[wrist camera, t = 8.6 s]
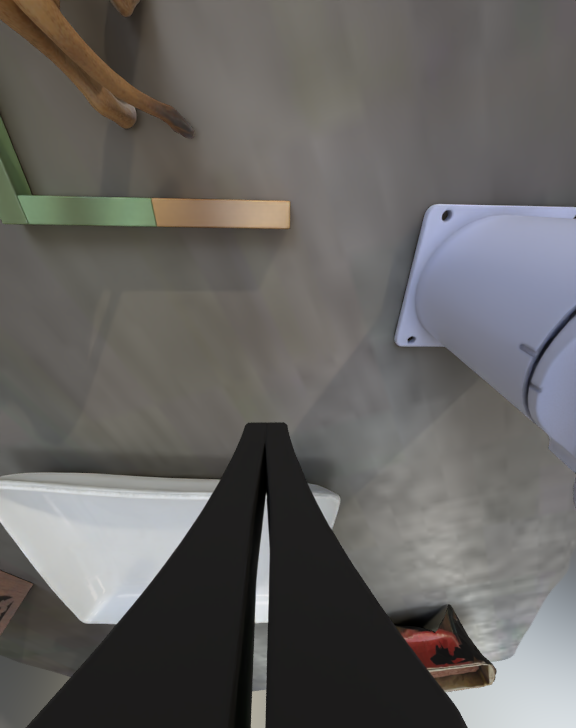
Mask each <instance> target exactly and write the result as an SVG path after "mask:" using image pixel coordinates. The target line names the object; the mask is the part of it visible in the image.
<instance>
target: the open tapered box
mask: <svg viewBox="0 0 576 728" xmlns="http://www.w3.org/2000/svg"><path fill="white" fill-rule="evenodd" d="M395 627H396V628H397V629H398V631H399V632H400V633H401V635H402V636H403V638H404V639H405V640H406V642H407V643H408V644H409V646H410V647H411V648H412V650H413V651H414V652H415V654H416V655H417V656H418V658H419V659H420V660H421V662H422V663H423V664H424V666H425V667H426V668H427V670H428V671H429V672H430V673H431V675H432V676H433V677H434V679H435V680H436V681H437V682H438V684H439V685H440V686H441V688H442V689H443V690H444V691H445V692H451V691H457V690H464V689H470V688H479V687H484V686H486V685H491V684H492V683H493V682H494V680H495V675H496V669H495V667H494V666H493V664H492V663H491V662H490V661H489V660H487V659H486V658H485V657H484V656H483V655H482V654H481V653H480V651H479V650H478V649H477V647H476V646H475V645H474V643H473V642H472V641H471V639H470V638H469V637H468V635H467V633H466V631H465V630H464V628H463V626H462V624H461V623H460V621H459V619H458V617H457V616H456V614H455V612H454V610H453V609H452V607H451V606H450V605H448V608H447V611H446V614H445V616H444V618H443V620H442V622H441V624H440V626H439V628H438V629H437V631H436V632H435V631H432V630H428V629H424V628H420V627H414V626H396V625H395Z"/></svg>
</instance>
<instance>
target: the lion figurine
mask: <svg viewBox="0 0 576 728" xmlns="http://www.w3.org/2000/svg"><path fill="white" fill-rule="evenodd" d="M110 2H111V3H112V4H113V6H114V7H115V8H116V9H117V10H118V11H119V13H120V14H121V15H122V16H124V17H128V16H131V14H132V13H133V10H134V8H135V7H136V5H137V4H138V3H139V2H140V0H110ZM0 19H1V20H2V21H3V22H4V23H6V24H7V25H8V26H9V27H11V28H12V29H13V30H15V31H16V32H17V33H18V34H20V35H21V36H22V37H24V38H25V39H26V40H27V41H29V42H30V43H31V44H32V45H33V46H35V47H36V48H37V49H38V50H39V51H41V52H42V53H43V54H44V55H45V56H47V57H48V58H49V59H50V60H51V61H52V62H53V63H54V64H55V65H57V66H58V67H59V68H60V69H61V70H62V71H63V72H64V73H65V74H66V75H67V76H68V78H69V79H70V80H71V81H72V82H73V83H74V84H75V85H76V86H77V88H78V89H79V90H80V91H81V92H82V93H83V94H84V96H85V97H86V98H87V100H88V101H89V103H90V104H91V106H92V107H93V108H94V109H95V110H96V111H98V112H99V113H100V114H102V115H103V116H105V117H107V118H109V119H111V120H112V121H114V122H115V123H117V124H118V125H119V126H121V127H122V128H126V129H128V128H130V127H132V126H133V125H134V123H135V122H136V118H137V114H136V110H135V107H136V108H138V109H140V110H142V111H144V112H146V113H148V114H150V115H153V116H155V117H158V118H160V119H161V120H163V121H164V122H166V123H167V124H168V125H169V126H170V127H171V128H172V129H173V130H174V131H175V132H177V133H180V134H181V135H183V136H184V137H186V138H193V136H194V135H195V130H194V129H193V127H192V126H191V125H190V124H189V123H188V122H187V121H186V120H185V119H184V118H183V117H182V116H181V115H180V114H179V113H178V112H177V111H176V110H175V109H174V108H173V107H172V106H169V105H167V104H164V103H161V102H159V101H157V100H155V99H153V98H151V97H149V96H147V95H146V94H144V93H142V92H140V91H139V90H137V89H136V88H134V87H133V86H132V85H130V84H129V83H128V82H127V81H125V80H124V79H123V78H122V77H121V76H119V75H118V74H117V73H116V72H114V71H113V70H112V69H111V68H110V67H109V66H108V65H107V64H106V63H105V62H104V61H103V60H101V59H100V58H99V57H98V56H97V55H96V54H95V53H94V51H93V50H92V49H91V48H90V47H89V46H88V45H87V44H86V43H85V42H84V40H83V39H82V38H81V37H80V36H79V34H78V33H77V32H76V31H75V30H74V29H73V27H72V26H71V25H70V24H69V23H68V21H67V20H66V19H65V18H64V16H63V15H62V14H61V12H60V1H59V0H0Z"/></svg>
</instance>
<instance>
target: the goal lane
mask: <svg viewBox="0 0 576 728" xmlns="http://www.w3.org/2000/svg"><path fill="white" fill-rule="evenodd" d="M0 218H1V221H2V223H3V224H24V225H29V224H31V225H84V226H142V227H157V226H158V227H199V228H257V229H289V228H290V201H270V200H223V199H177V198H131V197H84V196H38V195H32V193H31V191H30V188H29V186H28V183H27V181H26V178H25V176H24V173H23V171H22V168H21V166H20V163H19V161H18V158H17V156H16V154H15V151H14V149H13V146H12V144H11V141H10V139H9V136H8V134H7V131H6V129H5V126H4V124H3V121H2V119H1V116H0Z"/></svg>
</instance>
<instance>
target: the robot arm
mask: <svg viewBox="0 0 576 728" xmlns="http://www.w3.org/2000/svg"><path fill="white" fill-rule="evenodd" d="M446 210H447V212H448V216H447V218H446V219H445V220H444V221H443V220H442V214H443V213H444V212H445V211H446ZM575 215H576V207H546V206H500V205H454V204H435V205H432V206H430V207H429V208H428V209H427V211H426V213H425V215H424V219H423V223H422V227H421V231H420V235H419V239H418V243H417V247H416V252H415V256H414V260H413V264H412V268H411V272H410V276H409V280H408V284H407V288H406V292H405V296H404V300H403V304H402V308H401V312H400V317H399V321H398V325H397V329H396V333H395V337H394V341H395V343H396V344H397V345H398V346H402V347H446V348H447V349H449V350H450V351H451V352H452V353H453V354H454V355H456V356H457V357H458V358H459V359H460V360H461V361H463V362H464V363H465V364H466V365H467V366H468V367H470V368H471V369H472V370H473V371H474V372H475V373H477V374H478V375H479V376H480V377H481V378H482V379H484V380H485V381H486V382H487V383H488V384H489V385H491V386H492V387H493V388H494V389H495V390H496V391H498V392H499V393H500V394H501V395H502V396H503V397H505V398H506V399H507V400H508V401H509V402H510V403H512V404H513V405H514V406H515V407H516V408H517V409H519V410H520V411H521V412H522V413H523V414H524V415H526V416H527V417H528V418H529V419H530V420H531V421H533V422H534V423H535V424H536V425H538V426H539V427H540V428H541V429H542V430H543V431H544V432H546V433H547V435H548V437H549V441H550V443H549V447H548V449H549V450H550V451H551V452H552V453H553V454H555V455H556V456H557V457H558V458H559V459H560V460H561V461H562V462H563V463H564V464H566V465H567V466H568V467H569V468H570V469H571V470H572V471H573V472H574V473H575V474H576V219H573V218H574V217H575ZM411 336H413V338H412V340H410V341H408V338H409V337H411ZM266 496H267V513H268V530H269V547H270V561H269V605H268V648H267V689H266V692H267V693H266V728H467V726H466V724H465V722H464V720H463V718H462V716H461V714H460V712H459V710H458V709H457V707H456V706H455V704H454V703H453V702H452V700H451V699H450V698H449V697H448V695H447V694H446V693H445V691H444V690H443V689H442V688H441V686H440V685H439V684H438V682H437V681H436V680H435V679H434V677H433V676H432V675H431V673H430V672H429V671H428V670H427V668H426V667H425V666H424V664H423V663H422V662H421V660H420V659H419V658H418V656H417V655H416V654H415V652H414V651H413V650H412V648H411V647H410V646H409V644H408V643H407V642H406V640H405V639H404V638H403V636H402V635H401V633H400V632H399V631H398V629H397V628H396V627H395V625H394V624H393V622H392V621H391V620H390V618H389V617H388V615H387V614H386V613H385V611H384V610H383V609H382V607H381V606H380V604H379V603H378V601H377V600H376V598H375V597H374V595H373V594H372V592H371V591H370V589H369V588H368V586H367V585H366V583H365V582H364V580H363V579H362V577H361V576H360V574H359V573H358V572H357V570H356V569H355V567H354V566H353V564H352V562H351V561H350V559H349V558H348V556H347V554H346V553H345V551H344V549H343V548H342V546H341V545H340V543H339V541H338V540H337V538H336V536H335V534H334V533H333V531H332V529H331V528H330V526H329V524H328V522H327V521H326V519H325V517H324V515H323V513H322V511H321V509H320V508H319V506H318V504H317V502H316V500H315V498H314V496H313V494H312V492H311V490H310V487H309V485H308V483H307V481H306V479H305V476H304V474H303V472H302V469H301V467H300V465H299V462H298V460H297V457H296V455H295V452H294V449H293V446H292V443H291V440H290V436H289V432H288V427H287V425H286V424H285V423H248V424H246V425H245V428H244V431H243V434H242V437H241V439H240V441H239V444H238V446H237V448H236V450H235V452H234V455H233V457H232V459H231V461H230V462H229V464H228V466H227V468H226V470H225V472H224V474H223V476H222V478H221V480H220V481H219V483H218V485H217V486H216V488H215V490H214V491H213V493H212V495H211V496H210V498H209V500H208V502H207V503H206V505H205V506H204V508H203V510H202V511H201V513H200V514H199V516H198V517H197V519H196V520H195V522H194V523H193V525H192V526H191V528H190V529H189V531H188V532H187V534H186V535H185V537H184V538H183V540H182V541H181V542H180V544H179V545H178V547H177V548H176V549H175V551H174V552H173V553H172V555H171V556H170V557H169V559H168V560H167V561H166V563H165V564H164V566H163V567H162V568H161V570H160V571H159V572H158V574H157V575H156V576H155V577H154V579H153V580H152V581H151V583H150V584H149V585H148V587H147V588H146V589H145V590H144V592H143V593H142V594H141V595H140V596H139V598H138V599H137V600H136V601H135V603H134V604H133V605H132V606H131V607H130V609H129V610H128V611H127V612H126V613H125V615H124V616H123V617H122V618H121V620H120V621H119V622H118V623H117V624H116V626H115V627H114V628H113V629H112V630H111V632H110V633H109V634H108V635H107V637H106V638H105V639H104V640H103V641H102V643H101V644H100V645H99V646H98V647H97V648H96V649H95V651H94V652H93V653H92V654H91V655H90V656H89V658H88V659H87V660H86V661H85V662H84V663H83V664H82V665H81V667H80V668H79V669H78V670H77V671H76V672H75V673H74V674H73V676H72V677H71V678H70V679H69V680H68V681H67V682H66V684H64V686H63V687H62V688H61V689H60V690H59V691H58V692H57V693H56V695H55V696H54V697H53V698H52V699H51V700H50V701H49V702H48V704H47V705H46V706H45V707H44V708H43V709H42V710H41V711H40V713H39V714H38V715H37V716H36V717H35V718H34V719H33V720H32V721H31V723H30V724H29V725H28V726H27V727H26V728H251V703H252V677H253V652H254V627H255V603H256V581H257V569H258V559H259V551H260V542H261V533H262V525H263V516H264V508H265V499H266ZM573 502H574V506H575V509H576V478H575V482H574V485H573Z"/></svg>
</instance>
